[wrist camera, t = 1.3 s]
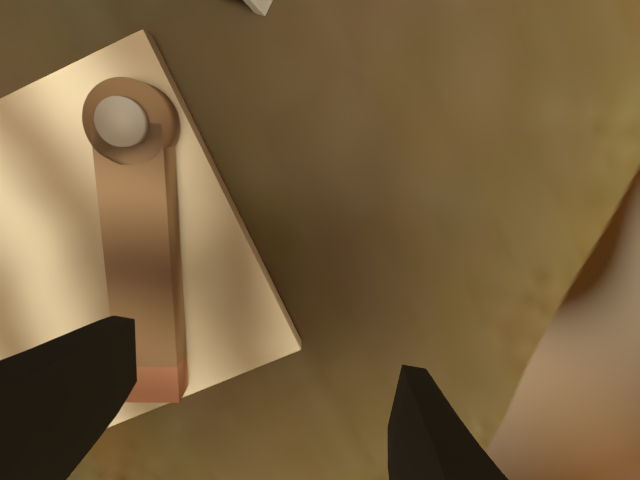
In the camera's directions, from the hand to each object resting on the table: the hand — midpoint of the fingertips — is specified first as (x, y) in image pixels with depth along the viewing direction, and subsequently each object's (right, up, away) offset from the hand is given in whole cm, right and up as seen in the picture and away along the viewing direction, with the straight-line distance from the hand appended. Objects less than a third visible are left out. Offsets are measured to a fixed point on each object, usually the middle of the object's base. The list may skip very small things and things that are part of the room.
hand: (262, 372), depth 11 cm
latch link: (-7, +3, +9) cm, 12 cm away
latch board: (-10, +2, +10) cm, 15 cm away
